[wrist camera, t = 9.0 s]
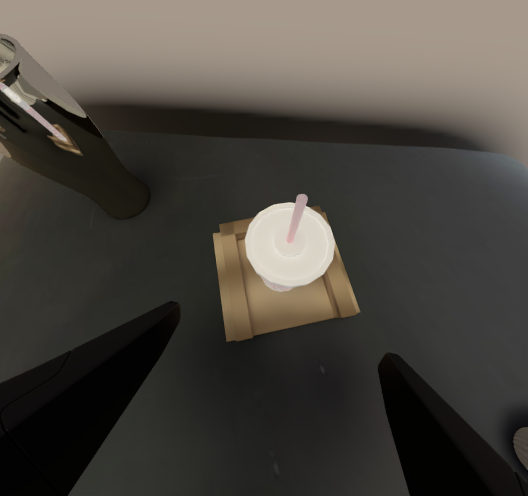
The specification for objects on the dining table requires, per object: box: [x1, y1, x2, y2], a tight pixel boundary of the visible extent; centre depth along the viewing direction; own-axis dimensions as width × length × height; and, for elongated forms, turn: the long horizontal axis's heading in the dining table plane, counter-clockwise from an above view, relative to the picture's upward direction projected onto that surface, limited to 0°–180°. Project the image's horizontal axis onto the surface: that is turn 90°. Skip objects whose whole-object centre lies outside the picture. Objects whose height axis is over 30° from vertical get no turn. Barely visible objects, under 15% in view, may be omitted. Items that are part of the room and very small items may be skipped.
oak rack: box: [213, 206, 360, 342], centre depth 21 cm, size 12×14×3 cm
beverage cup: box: [245, 194, 335, 292], centre depth 15 cm, size 6×6×14 cm
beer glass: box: [0, 34, 150, 219], centre depth 19 cm, size 7×7×15 cm
